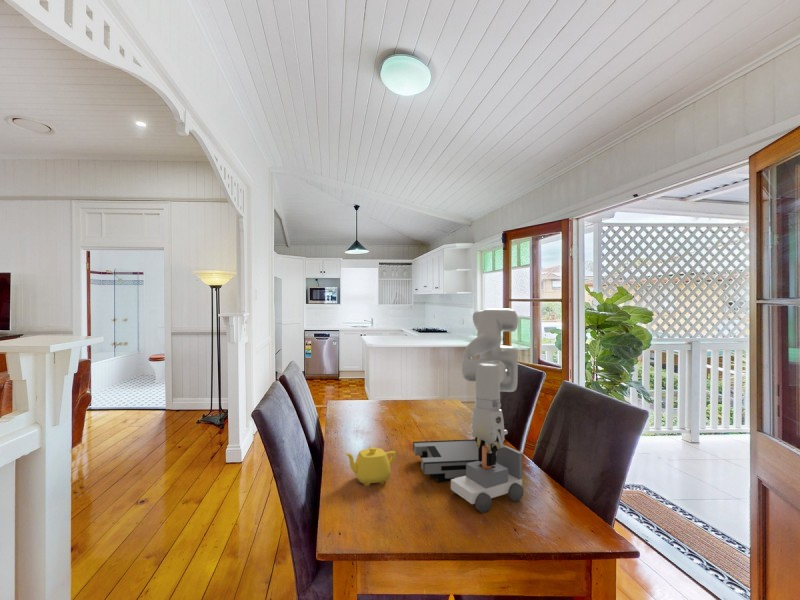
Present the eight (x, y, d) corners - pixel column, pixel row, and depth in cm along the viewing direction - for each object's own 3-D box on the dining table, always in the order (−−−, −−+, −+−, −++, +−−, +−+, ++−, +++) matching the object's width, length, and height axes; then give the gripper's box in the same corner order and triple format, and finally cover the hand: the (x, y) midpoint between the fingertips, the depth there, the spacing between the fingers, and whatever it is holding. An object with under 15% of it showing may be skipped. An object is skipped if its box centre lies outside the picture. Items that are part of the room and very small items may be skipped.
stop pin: (487, 476, 119) (487, 444, 119) (493, 480, 116) (494, 447, 116) (479, 478, 117) (480, 445, 118) (486, 482, 115) (486, 449, 115)
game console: (412, 460, 145) (413, 438, 145) (492, 456, 150) (492, 435, 150) (424, 485, 125) (424, 460, 125) (515, 480, 129) (515, 456, 129)
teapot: (347, 492, 119) (348, 457, 119) (340, 477, 129) (341, 445, 129) (401, 483, 125) (401, 451, 125) (390, 469, 135) (390, 439, 135)
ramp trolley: (495, 481, 127) (496, 441, 128) (525, 498, 116) (526, 454, 116) (447, 495, 118) (448, 451, 118) (475, 515, 106) (476, 467, 106)
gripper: (516, 408, 112) (515, 470, 112) (479, 396, 126) (478, 451, 126) (497, 411, 108) (496, 475, 108) (461, 398, 123) (460, 455, 122)
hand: (486, 462), depth 117 cm, fingers closed on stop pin, 3 cm apart
